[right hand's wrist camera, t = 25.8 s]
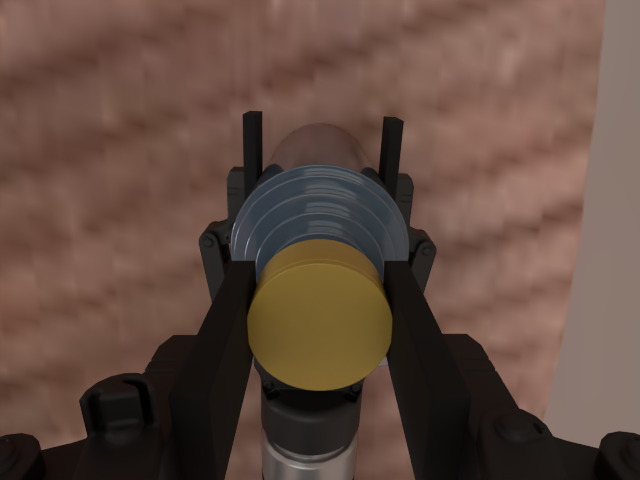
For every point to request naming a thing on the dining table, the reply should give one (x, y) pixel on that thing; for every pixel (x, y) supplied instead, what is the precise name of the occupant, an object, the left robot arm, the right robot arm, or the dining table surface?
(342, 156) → the bottle
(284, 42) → the dining table surface
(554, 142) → the dining table surface
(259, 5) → the dining table surface
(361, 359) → the cap
